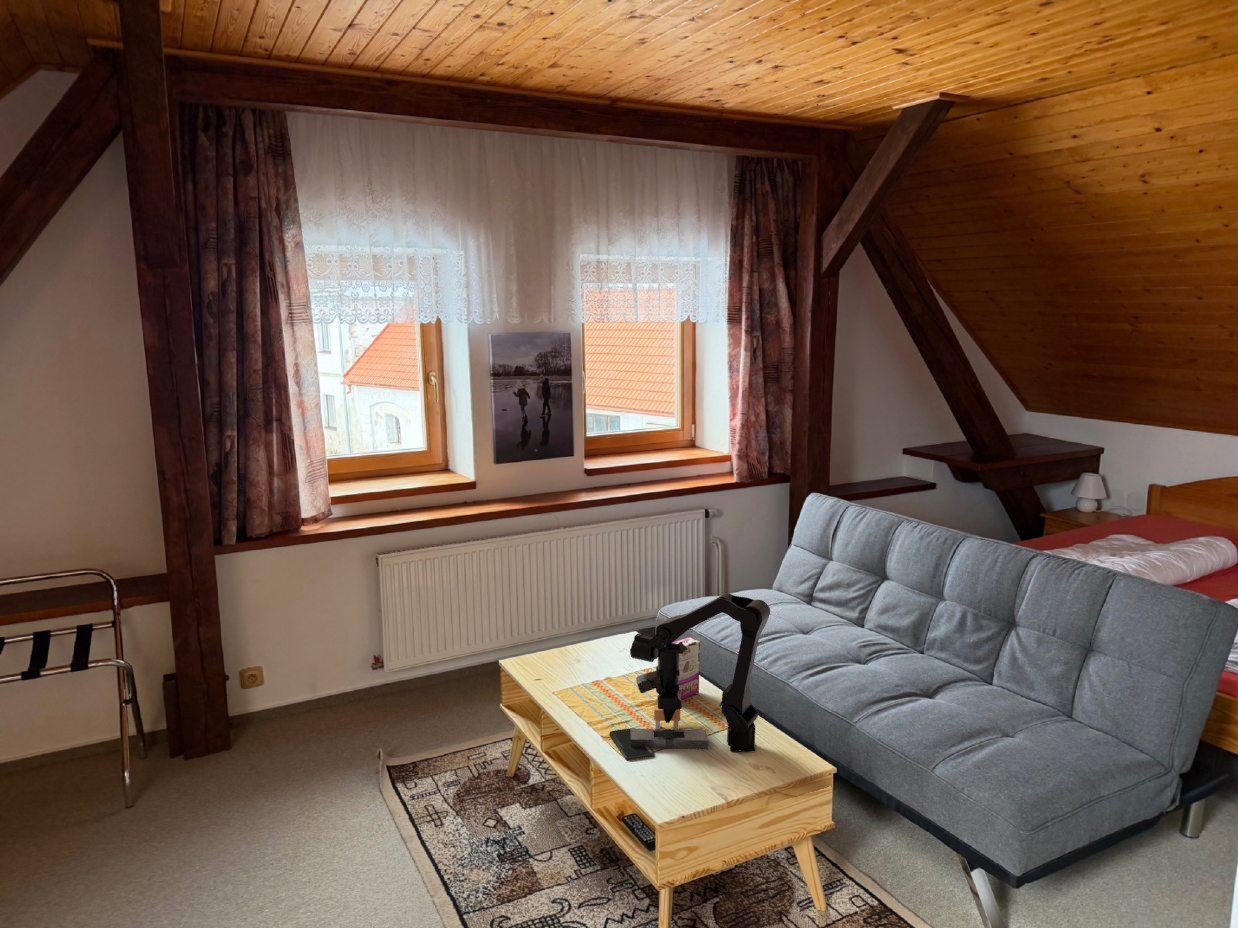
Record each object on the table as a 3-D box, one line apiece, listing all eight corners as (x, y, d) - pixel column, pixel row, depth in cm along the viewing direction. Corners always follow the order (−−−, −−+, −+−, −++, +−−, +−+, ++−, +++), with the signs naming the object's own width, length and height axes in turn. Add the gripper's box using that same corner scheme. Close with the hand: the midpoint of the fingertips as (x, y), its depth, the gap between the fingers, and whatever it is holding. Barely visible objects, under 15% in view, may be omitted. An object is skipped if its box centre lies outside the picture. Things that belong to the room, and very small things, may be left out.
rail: (705, 738, 238) (705, 729, 237) (708, 749, 232) (708, 740, 231) (630, 737, 237) (630, 728, 237) (630, 748, 231) (630, 739, 231)
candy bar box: (687, 687, 268) (689, 636, 266) (699, 693, 265) (701, 641, 262) (659, 697, 261) (661, 644, 259) (671, 703, 258) (673, 649, 255)
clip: (679, 725, 245) (679, 706, 244) (679, 729, 242) (680, 710, 241) (653, 724, 244) (654, 706, 244) (654, 729, 242) (654, 710, 241)
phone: (635, 727, 241) (655, 753, 227) (635, 731, 242) (655, 757, 228) (607, 731, 239) (626, 758, 225) (607, 735, 239) (625, 762, 225)
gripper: (637, 651, 249) (636, 703, 252) (639, 678, 231) (638, 735, 234) (677, 651, 249) (676, 704, 252) (682, 679, 231) (680, 735, 234)
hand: (666, 719), depth 243 cm, fingers open, 4 cm apart
